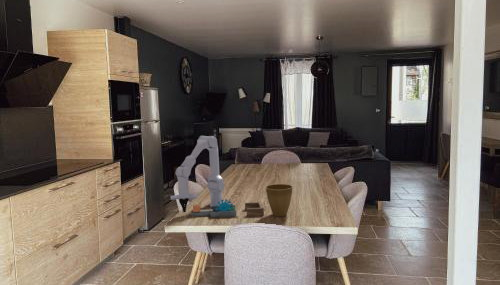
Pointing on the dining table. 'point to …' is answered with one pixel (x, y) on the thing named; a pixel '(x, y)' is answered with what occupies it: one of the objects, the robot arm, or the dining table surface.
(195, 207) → the orange block
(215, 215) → the socket
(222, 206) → the gear
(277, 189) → the plant pot
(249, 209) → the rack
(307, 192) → the dining table surface
